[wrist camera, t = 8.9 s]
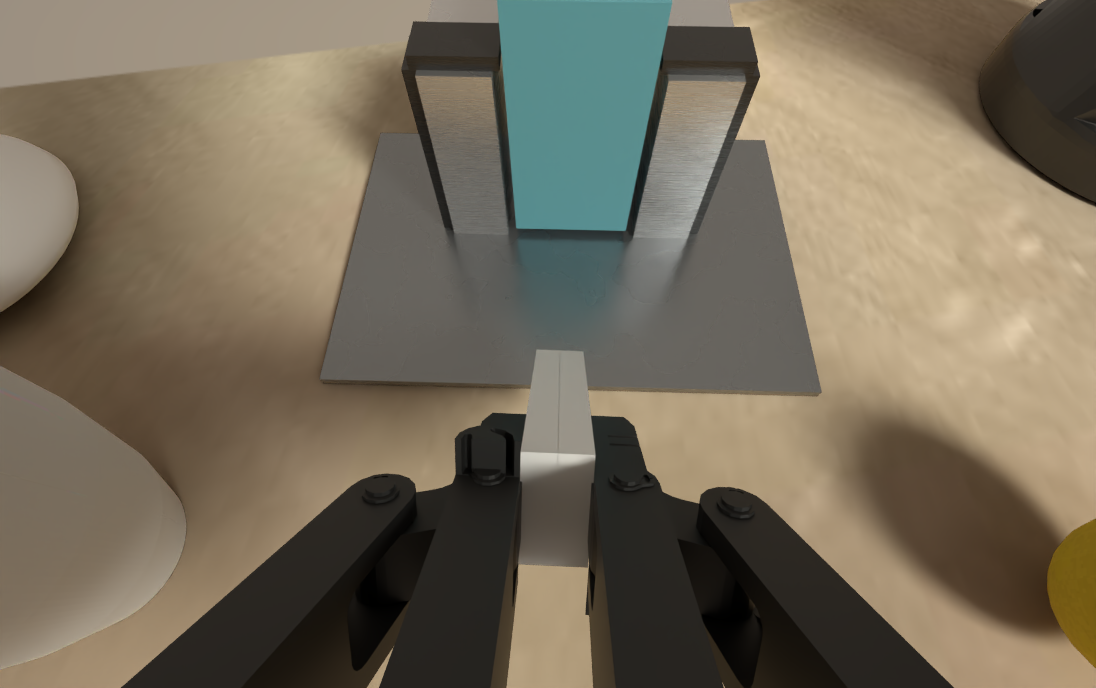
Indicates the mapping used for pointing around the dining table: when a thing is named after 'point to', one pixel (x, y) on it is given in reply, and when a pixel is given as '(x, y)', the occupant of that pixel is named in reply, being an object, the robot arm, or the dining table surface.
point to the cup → (74, 524)
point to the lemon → (1076, 588)
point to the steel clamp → (573, 236)
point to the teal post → (578, 105)
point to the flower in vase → (32, 216)
